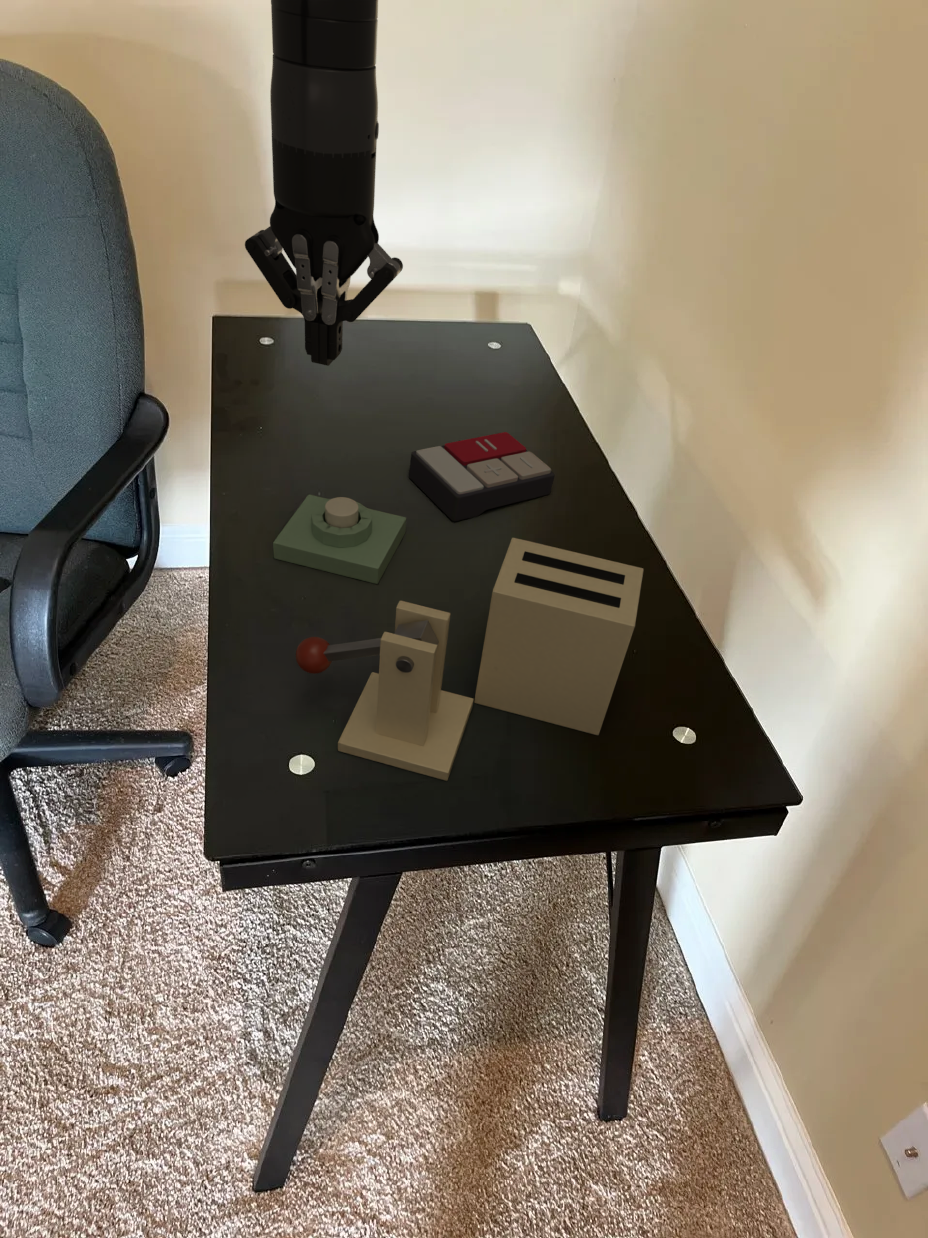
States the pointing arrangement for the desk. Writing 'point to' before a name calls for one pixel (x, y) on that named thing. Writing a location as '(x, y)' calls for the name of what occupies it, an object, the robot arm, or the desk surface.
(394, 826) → the desk surface
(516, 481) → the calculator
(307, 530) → the switch block
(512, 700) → the toaster
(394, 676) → the lever bracket
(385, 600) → the desk surface
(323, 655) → the red-knobbed metal lever
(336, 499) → the button
